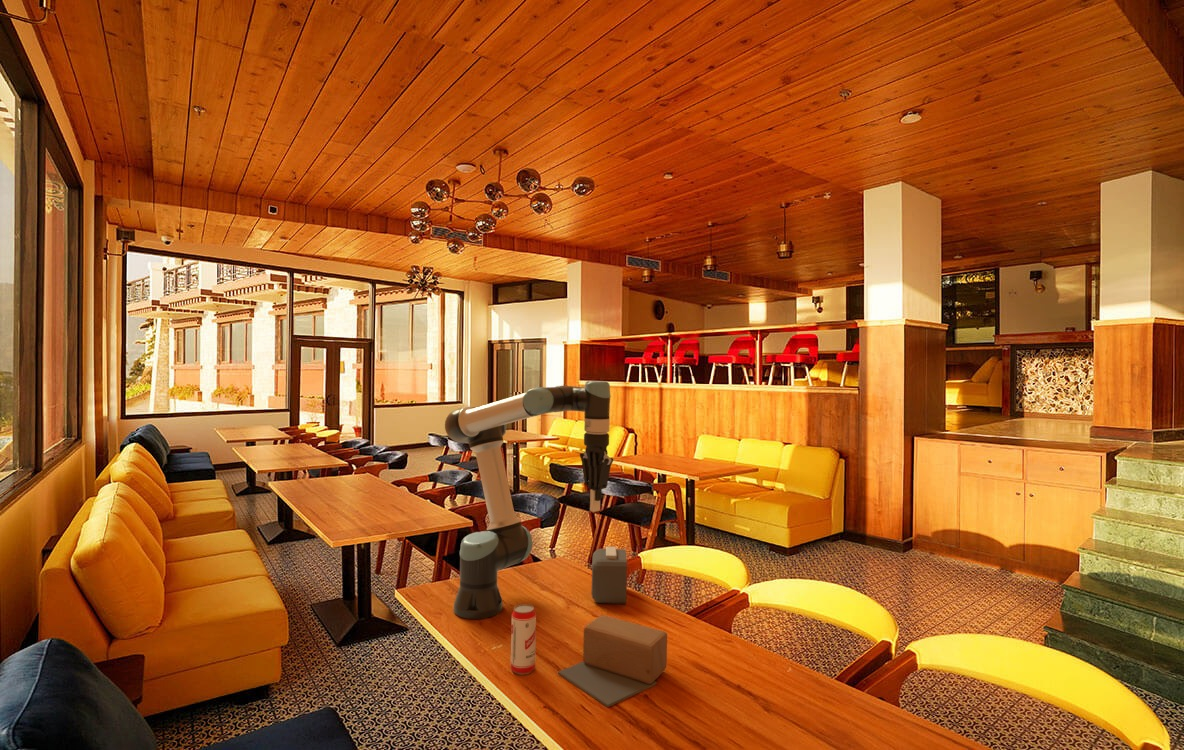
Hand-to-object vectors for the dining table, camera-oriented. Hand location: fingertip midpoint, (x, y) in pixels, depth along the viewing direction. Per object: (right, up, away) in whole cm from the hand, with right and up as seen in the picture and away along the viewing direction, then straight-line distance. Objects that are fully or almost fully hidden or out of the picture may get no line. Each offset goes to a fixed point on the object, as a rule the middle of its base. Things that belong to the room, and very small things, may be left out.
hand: (595, 510), depth 185 cm
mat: (+3, -35, -31) cm, 47 cm away
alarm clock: (+5, -34, +23) cm, 41 cm away
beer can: (-19, -35, -27) cm, 48 cm away
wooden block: (-1, -29, -20) cm, 36 cm away
